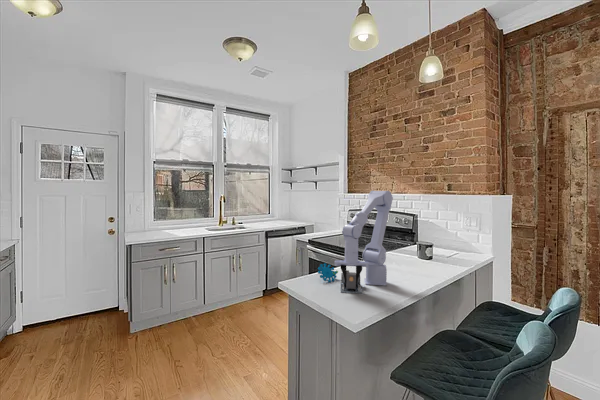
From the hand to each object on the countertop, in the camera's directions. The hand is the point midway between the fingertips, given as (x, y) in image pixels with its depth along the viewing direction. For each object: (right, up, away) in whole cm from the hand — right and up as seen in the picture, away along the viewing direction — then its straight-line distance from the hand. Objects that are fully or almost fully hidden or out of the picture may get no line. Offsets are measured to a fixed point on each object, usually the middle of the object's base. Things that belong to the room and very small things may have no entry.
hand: (351, 282), depth 126 cm
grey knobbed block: (0, -2, 0) cm, 2 cm away
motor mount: (0, -3, +2) cm, 4 cm away
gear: (-9, -3, +14) cm, 17 cm away
